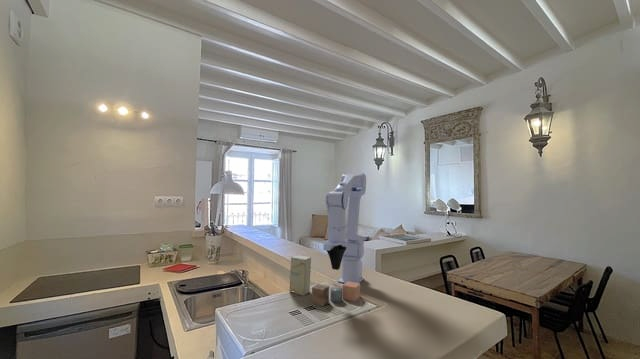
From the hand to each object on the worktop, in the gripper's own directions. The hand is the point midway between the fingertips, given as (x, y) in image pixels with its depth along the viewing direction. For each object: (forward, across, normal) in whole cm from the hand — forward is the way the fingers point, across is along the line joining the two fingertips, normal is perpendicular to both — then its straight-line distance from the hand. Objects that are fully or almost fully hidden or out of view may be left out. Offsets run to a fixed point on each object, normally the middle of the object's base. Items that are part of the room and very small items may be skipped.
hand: (335, 269), depth 82 cm
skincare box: (+10, 0, +14) cm, 17 cm away
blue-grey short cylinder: (+10, 0, 0) cm, 10 cm away
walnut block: (+10, -4, +3) cm, 11 cm away
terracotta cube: (+10, +5, -4) cm, 12 cm away
